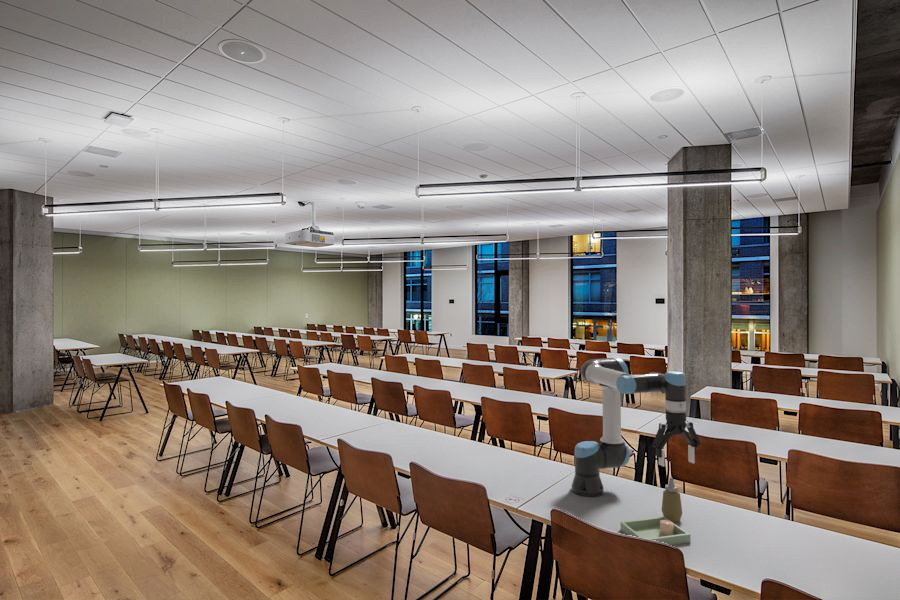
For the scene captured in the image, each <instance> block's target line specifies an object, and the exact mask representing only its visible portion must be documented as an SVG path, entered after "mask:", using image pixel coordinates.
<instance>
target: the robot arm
mask: <svg viewBox="0 0 900 600" xmlns="http://www.w3.org/2000/svg"><path fill="white" fill-rule="evenodd" d="M580 375H581V377H582V378H583V380H584V381H585V382H587V383H591V384H598V385H599V387H600V388H601V393H602V394H601V395H602V400H601V401H602V436H601V437H600V439H599V443H598V442H597V441H595V440H594V441H593V440H590V441H589V440H585V441H581V442H578V443H577V444H576V445H575V447H574V453H573V454H574V476H573V480H572V482H571V491H572V493H574V494H575V493H576V495H578V496H581V497H588V498H590V497H591V498H592V497H593V498H594V497H599V496H602V495H603V494H604V485H603V482H602V479H601V476H600V470H603V469H614V468H615V469H618V468H621V467H626V465H628V463H629V461H630V458H631V457H630V456H631V452H630V449H629V446H628V444H627V443H625V438H623V437H622V414H621V413H622V410H621V409H622V408H621V407H622V405H621V402H622V399H621V394H622V395H623V394H625V395H631V394H632V395H633V394H642V393H643V394H644V393H647V394H648V393H662V394H664V396H665V400H664V401H665V406H664V408H665V410H666V411H665V420H666V423H661V422H660V423H659V424H658V430H657V432H656V434H655V437H654V440H653V441H652V444H651V446H652V447H653V448H654V449H656V457H658V465H659V466H661V467H665V466H666V465H665V449H664V447H665V446H666V444H667V443H668V441H669V440H670V438H671V437H673V435H674V436H677V435H682V436H683V438H684V439H685V440H686V441H687V442H688V444H689V445H688V446H687V448H688V449H687V455H688V456H687V458H688V459H687V460H688V461H687V462H689V463H690V464H695V462H696V459H695V457H696V456H695V455H696V454H697V448H698V447H699V445H701V441H700V438H699V437H698V435H697V433H696V430H695V428H694V423H693V422H692V421H689V420H687V412H686V411H687V382H686V374H685V373H684V372H682V371H676V370H675V371H674V370H673V371H666V372H665V373H661V372H655V371H654V372H649V373H644V374H630V373H629V368H628V365H627V364H626V362H625V361H624V360H623V359H622V358H618V357H605V358H590V359H588V360H587V361H585V362H584V363H583V364H581V369H580ZM686 428H687V430H688V431H687V430H686Z"/></svg>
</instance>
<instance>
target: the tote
mask: <svg viewBox="0 0 900 600" xmlns="http://www.w3.org/2000/svg"><path fill="white" fill-rule="evenodd" d="M661 520H668V519H667V518H665V517H664V516H658V517H650V518H649V517H648V518H642V519H633V520H626V521H620V522H619V523H620V524H619V525H620V531H622V532H623V533H624V534H626V535H627V534H628V535H632V536H636V537H640V538H648V539H651V540H656V541H659V542H664V543H667V544H671V545H670V546H674V545H681V544H687V543H691V533H689V532H687V531H686V530H685V529H683V528H682V527H680V526H678V525H677V524H675V522H673V524H674V535H671V536H663V535H661V534H660V521H661ZM669 521H670V520H669ZM628 535H627V536H628Z"/></svg>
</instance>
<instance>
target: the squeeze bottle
mask: <svg viewBox="0 0 900 600" xmlns="http://www.w3.org/2000/svg"><path fill="white" fill-rule="evenodd" d="M678 490H679V489H678V486H677V485H675V482H674V478H673V477H669V480H668V484H666V485H665V490H663V492H662V503H661V512H662V513H661V514H662V515H663V516H662V517H665V518H667V519H668V520H670V521H671V522H673V523H679V522H680V521H681V519H682V516H683V508H682V507H683V506H682V499H681V493H680V492H679V491H678Z"/></svg>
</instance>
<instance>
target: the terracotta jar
mask: <svg viewBox="0 0 900 600" xmlns="http://www.w3.org/2000/svg"><path fill="white" fill-rule="evenodd" d="M673 523H674V522H671V521H669V520H661V521H660V534H661V535H663V536H671V535H674V524H675V523H674V524H673Z"/></svg>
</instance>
